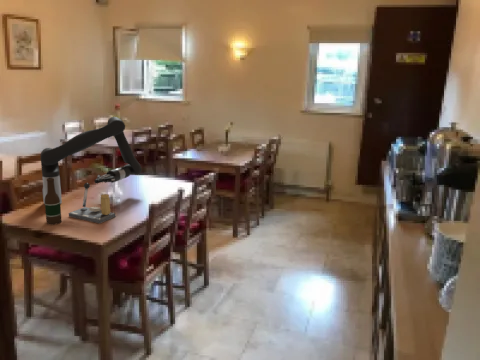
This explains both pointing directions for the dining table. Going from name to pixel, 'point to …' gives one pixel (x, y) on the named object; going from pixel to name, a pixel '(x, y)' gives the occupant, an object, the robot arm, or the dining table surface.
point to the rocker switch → (94, 209)
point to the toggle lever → (85, 193)
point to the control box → (91, 215)
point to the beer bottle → (52, 204)
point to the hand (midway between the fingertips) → (95, 181)
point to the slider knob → (105, 204)
